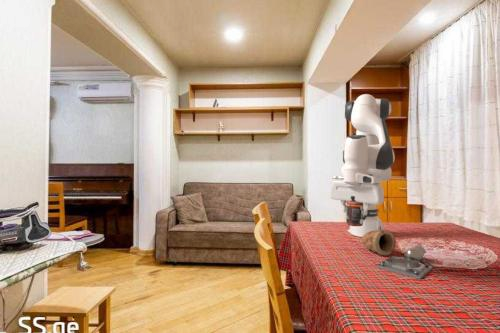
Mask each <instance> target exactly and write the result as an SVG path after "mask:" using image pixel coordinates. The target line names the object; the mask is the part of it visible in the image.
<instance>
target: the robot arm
mask: <svg viewBox="0 0 500 333" xmlns="http://www.w3.org/2000/svg"><path fill="white" fill-rule="evenodd" d="M391 113H392V104H391V102H390V99H387V98H375V97H374V96H373V95H372V94H368V93H364V94H361V95H359V96H358V97H357V98H356V99H355V100H349V101H347V102H346V103H345V105H344V108H343V116H344V118H345V120H346V121H349V122H351V125H352V127H353V128H354V129H356V132H355V134H353V135H348V136H346V139H345V141H344V142H345V143H344V144H345V145H344V150H343V151H342V163H344V164H343V165H342V166H341V169H340V175H341V176H338V175H337V176H334V177H332V178H331V179H330V180H331V181H330V185H331V186H330V191H329V197H330V199H331V200H336V201H340V204H341V206H342V208H343V209H342V210H343V211H342V212H343V213H347V202H348V201H351V200H352V199H351V196H355V199H354V200H355V201H356V202H360V203H363V210H361V212H362V213H361V214H362V215H363V225H362V226H350V225H349V228H348V229H347V232H348V233H349V234H350V235H353V236H356V237H358V238H359V237H360V238H362V236H363V235H365V234H366V233H367V232H370V231H374V230H384V226H383V225H384V224H383V221H382V220H381V219H380V218H379V214H378V213H380V209H379V208H377V205H382V204H383V203H384V201H385V195H384V194H385V191H384V187H383V185H382V183H384V182H387V181H389V180H390V179H391V177H392V168H391V167H392V166H393V165H394V162H395V159H396V158H395V151H394V149H393V146H392V144H391V139H390V135H389V131H388V126H387V124H386V120H387V119H388V118H389V117H390V114H391Z"/></svg>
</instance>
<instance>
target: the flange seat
mask: <svg viewBox="0 0 500 333" xmlns="http://www.w3.org/2000/svg"><path fill="white" fill-rule="evenodd" d="M425 253H426V254H427V251H426V249H425V248H424V247H423V246H421V245H415V246H413V247H412V248H410V249H408V250H406V251H405V252H404V255H403V257H397V256H396V255H392V256H390V257H388V258H387V259H385V260H384V261H382V262H380V263H378V264H377V266H376V268H378V269H382V270H384V271H388V272H392V273H396V274H400V275H403V276H408V277H411V278H415V279H417V280H421V279H422V278H423V277H425V275H427V274H428V273H429V272H430V271H431V270H432V269H433V266H432V265H430V264H429V263H426V262H424V264H423V263H422V262H421V260H422V259H424V258H423V256H424V254H425Z"/></svg>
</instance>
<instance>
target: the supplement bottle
mask: <svg viewBox="0 0 500 333" xmlns="http://www.w3.org/2000/svg"><path fill="white" fill-rule="evenodd" d="M351 199H352V200H351V201H347V203H346V206H347V212H346V220H345V221H346V225H347V226H349V227H350V226H362V225H363V215H362V214H361V213H362V212H361V210H363V203H360V202H356V201H355V200H354V199H355V196H351Z"/></svg>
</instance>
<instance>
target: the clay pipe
mask: <svg viewBox="0 0 500 333" xmlns="http://www.w3.org/2000/svg"><path fill="white" fill-rule="evenodd" d="M360 241H361V242H362V244H363V245H364V246H365V247H366V249H368V250H371V252H373V253H377V254H378V255H380V256H383V257H386V256H390V255H391V254H392V253H393V252H394V251H395V249H396V244H397V241H396V237H395V235H394V234H393V233H392V232H391V231H389V230H388V229H383V230H374V231H370V232H367V233H366V234H365V235H363V236H362V237H361V240H360Z"/></svg>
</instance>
